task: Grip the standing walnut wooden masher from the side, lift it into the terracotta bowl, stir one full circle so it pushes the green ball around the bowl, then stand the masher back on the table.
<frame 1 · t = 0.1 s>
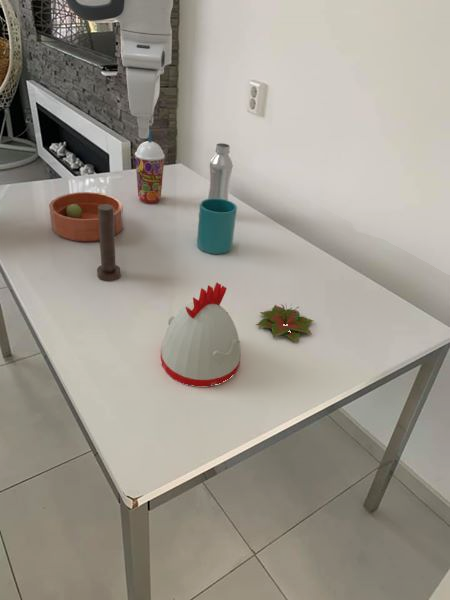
hand: (146, 131, 88), 30 cm above the table, tool pointing down, fingers open, 8 cm apart
cup: (211, 244, 116), on the table
kitchen timer: (200, 359, 80), on the table
green ball: (74, 211, 118), point 3 cm above the table, touching bowl
silver bottle: (216, 215, 132), on the table
masher: (109, 275, 99), on the table
smoothie: (149, 200, 136), on the table
bowl: (88, 227, 117), on the table
green leafy plant: (284, 326, 91), on the table
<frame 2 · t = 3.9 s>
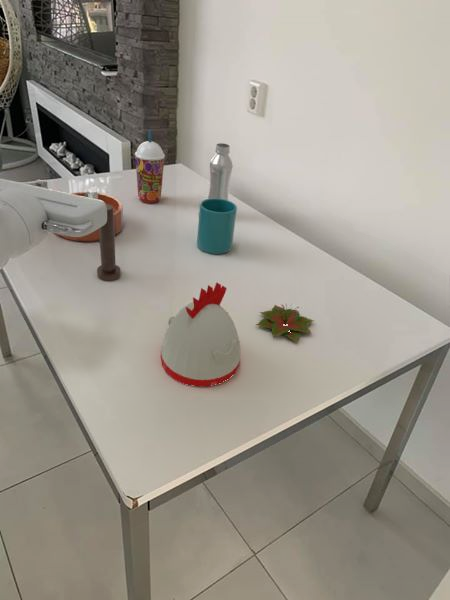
hand: (68, 189, 76), 24 cm above the table, tool horizontal, fingers open, 8 cm apart
nothing on the table moved.
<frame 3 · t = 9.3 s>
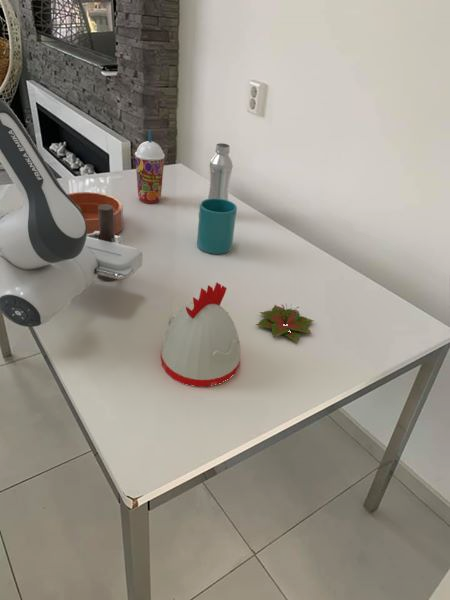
hand: (109, 236, 95), 9 cm above the table, tool horizontal, fingers closed on masher, 3 cm apart
masher: (109, 275, 99), on the table, touching gripper
everything else where it was.
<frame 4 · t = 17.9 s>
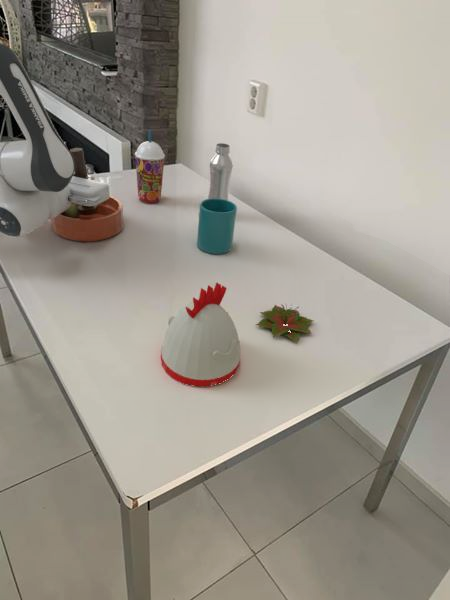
hand: (83, 176, 113), 12 cm above the table, tool horizontal, fingers closed on masher, 3 cm apart
green ball: (72, 211, 118), point 3 cm above the table, tilted 12°, touching bowl, masher
masher: (88, 211, 117), point 3 cm above the table, tilted 7°, touching green ball, gripper
everything else where it was.
when the fingers open (9 cm above the table, at t = 28.0 s): masher stays where it is, on the table.
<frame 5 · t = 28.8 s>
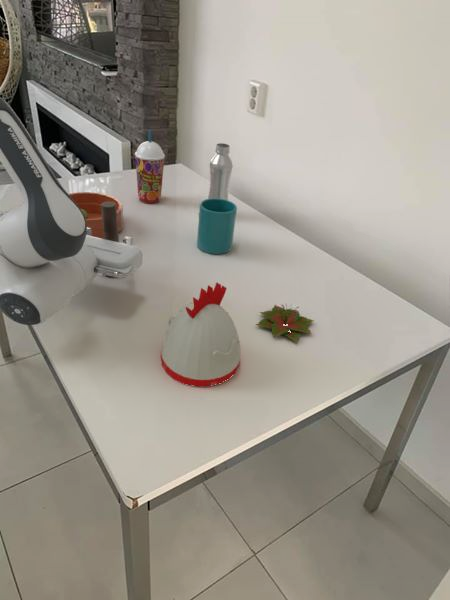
hand: (109, 235, 95), 9 cm above the table, tool horizontal, fingers open, 8 cm apart
green ball: (80, 216, 116), point 3 cm above the table, tilted 93°, touching bowl
masher: (113, 271, 100), on the table
everything else where it was.
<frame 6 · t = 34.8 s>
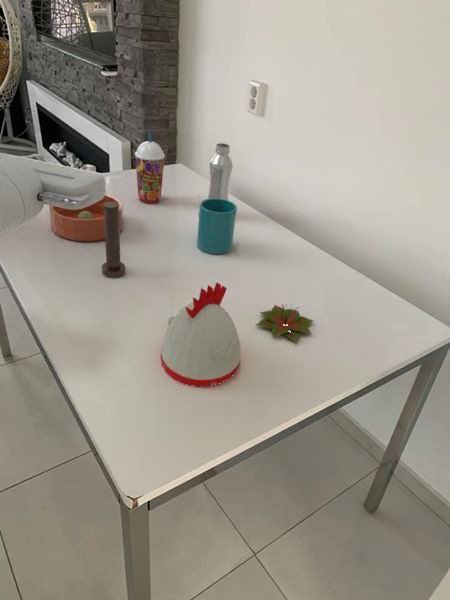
hand: (65, 164, 74), 28 cm above the table, tool horizontal, fingers open, 8 cm apart
green ball: (85, 219, 115), point 3 cm above the table, tilted 149°, touching bowl
everything else where it was.
at the end: green ball moved 5.4 cm from its start; green ball inside the target area in the bowl (0.8 cm from its centre), point 2.6 cm above the bowl's base; masher tilted 0° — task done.
